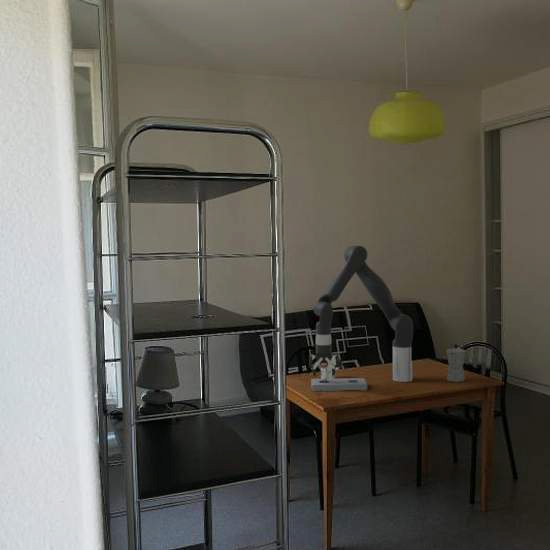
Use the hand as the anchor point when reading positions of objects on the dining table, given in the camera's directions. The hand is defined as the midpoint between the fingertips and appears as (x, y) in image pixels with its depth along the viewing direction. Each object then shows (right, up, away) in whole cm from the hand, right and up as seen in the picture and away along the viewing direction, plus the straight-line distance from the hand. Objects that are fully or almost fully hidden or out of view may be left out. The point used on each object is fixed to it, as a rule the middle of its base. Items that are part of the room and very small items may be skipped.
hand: (324, 376), depth 302 cm
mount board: (+7, -6, 0) cm, 9 cm away
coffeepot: (+67, -4, +11) cm, 68 cm away
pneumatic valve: (+4, -4, +19) cm, 20 cm away
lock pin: (0, -6, 0) cm, 6 cm away
